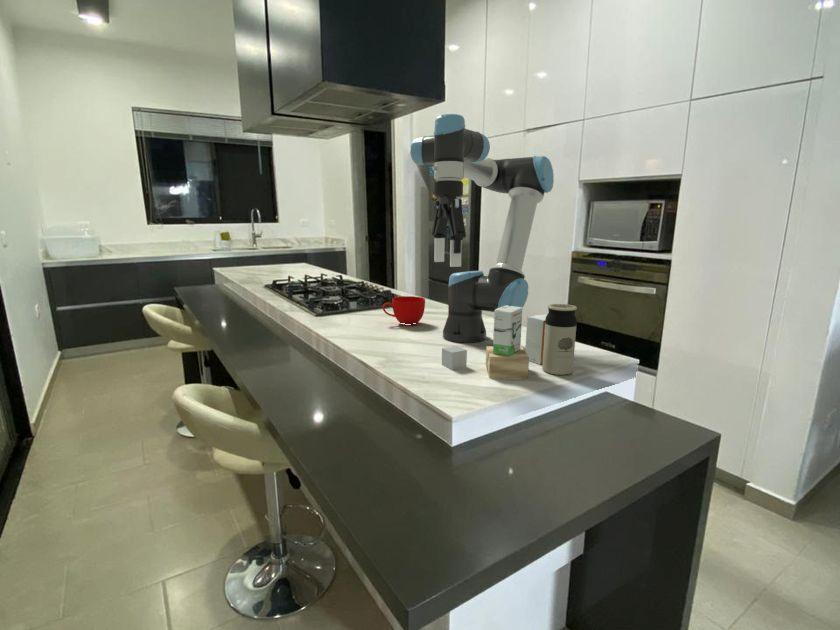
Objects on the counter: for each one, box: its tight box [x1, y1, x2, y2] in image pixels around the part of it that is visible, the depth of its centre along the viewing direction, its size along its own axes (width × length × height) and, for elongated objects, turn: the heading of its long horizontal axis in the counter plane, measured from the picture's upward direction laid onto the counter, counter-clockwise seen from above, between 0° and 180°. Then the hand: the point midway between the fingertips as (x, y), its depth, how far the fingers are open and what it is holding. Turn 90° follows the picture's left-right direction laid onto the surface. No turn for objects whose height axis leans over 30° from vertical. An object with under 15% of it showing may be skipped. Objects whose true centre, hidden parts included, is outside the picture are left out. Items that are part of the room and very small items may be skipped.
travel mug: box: [541, 303, 578, 376], centre depth 120 cm, size 8×8×18 cm
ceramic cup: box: [382, 295, 426, 324], centre depth 175 cm, size 13×17×10 cm
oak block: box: [485, 345, 530, 380], centre depth 121 cm, size 10×10×6 cm
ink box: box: [492, 305, 523, 356], centre depth 119 cm, size 9×5×12 cm, turn 148°
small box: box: [524, 313, 548, 365], centre depth 131 cm, size 8×6×13 cm
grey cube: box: [441, 345, 468, 371], centre depth 126 cm, size 5×5×5 cm
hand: (446, 264), depth 118 cm, fingers open, 13 cm apart
